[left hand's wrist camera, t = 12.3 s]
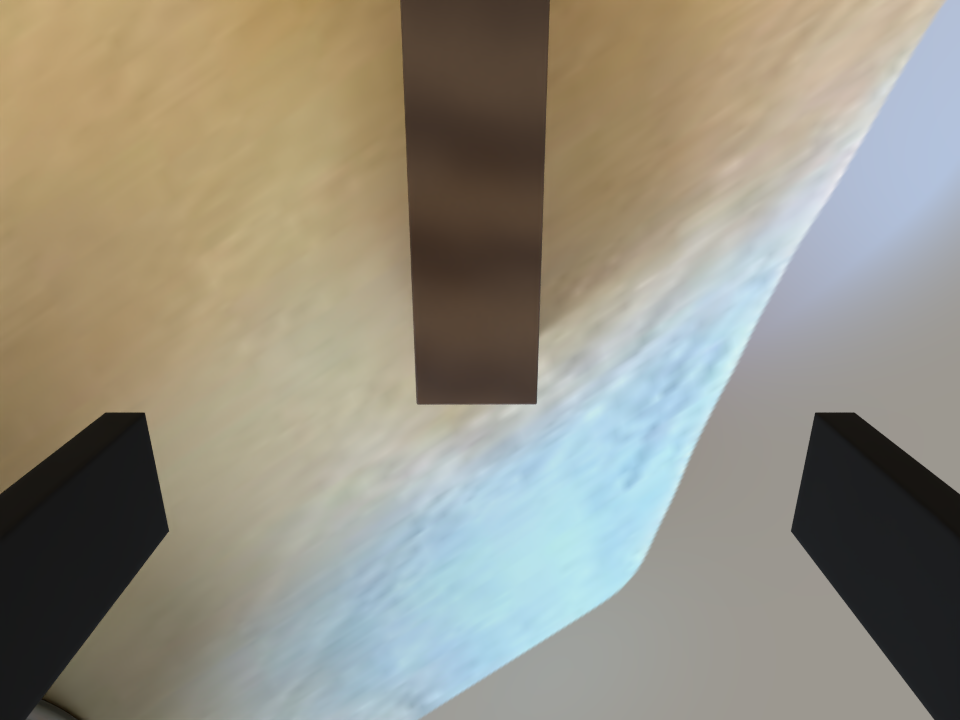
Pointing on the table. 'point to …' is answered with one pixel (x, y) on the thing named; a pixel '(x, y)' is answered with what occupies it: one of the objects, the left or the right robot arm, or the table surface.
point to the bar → (475, 194)
